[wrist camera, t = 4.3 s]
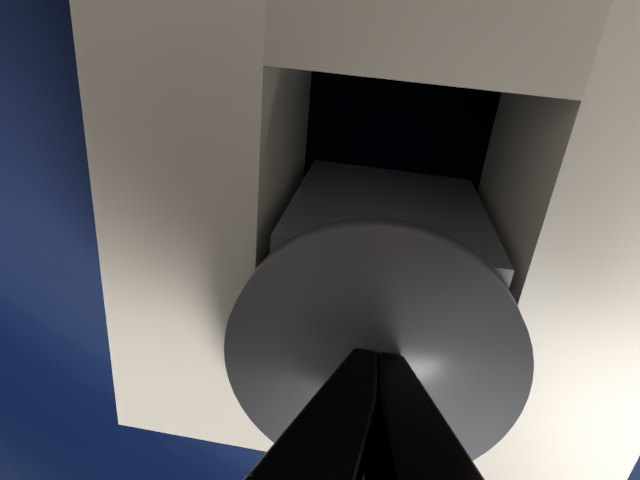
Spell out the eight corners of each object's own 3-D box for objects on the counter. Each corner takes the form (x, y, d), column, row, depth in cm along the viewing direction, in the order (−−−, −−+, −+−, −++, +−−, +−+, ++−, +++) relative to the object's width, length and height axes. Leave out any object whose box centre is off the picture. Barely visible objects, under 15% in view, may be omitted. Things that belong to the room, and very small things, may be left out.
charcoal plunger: (501, 159, 12) (578, 258, 7) (456, 333, 14) (490, 503, 9) (293, 134, 12) (224, 209, 7) (281, 306, 14) (222, 453, 10)
